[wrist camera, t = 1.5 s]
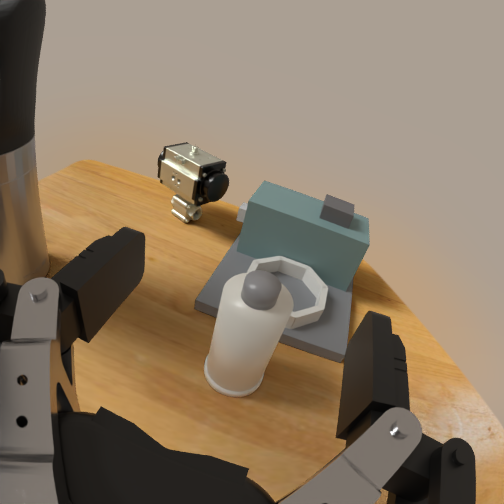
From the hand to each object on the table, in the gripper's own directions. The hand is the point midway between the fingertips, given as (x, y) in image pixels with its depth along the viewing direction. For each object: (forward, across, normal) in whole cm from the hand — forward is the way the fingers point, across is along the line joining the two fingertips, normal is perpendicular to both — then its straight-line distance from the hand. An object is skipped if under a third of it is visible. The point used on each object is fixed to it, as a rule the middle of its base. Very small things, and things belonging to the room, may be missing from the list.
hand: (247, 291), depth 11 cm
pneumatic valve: (+35, +17, +19) cm, 43 cm away
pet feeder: (+27, -2, +20) cm, 33 cm away
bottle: (+11, 0, +20) cm, 23 cm away
